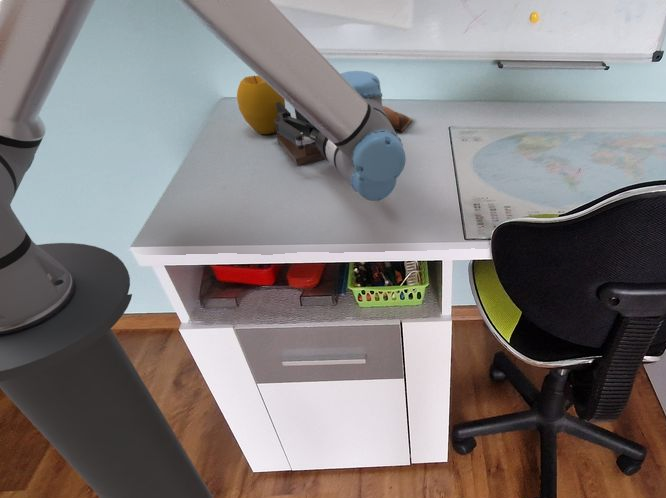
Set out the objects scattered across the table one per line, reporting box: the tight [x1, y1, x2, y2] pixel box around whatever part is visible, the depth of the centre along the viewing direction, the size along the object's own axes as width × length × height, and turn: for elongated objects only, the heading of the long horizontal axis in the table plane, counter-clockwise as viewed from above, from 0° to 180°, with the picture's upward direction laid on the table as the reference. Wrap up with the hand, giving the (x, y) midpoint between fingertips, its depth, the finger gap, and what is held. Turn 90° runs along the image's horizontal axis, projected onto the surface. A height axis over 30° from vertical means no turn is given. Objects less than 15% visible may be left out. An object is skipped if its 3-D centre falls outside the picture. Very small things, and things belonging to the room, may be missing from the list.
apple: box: [236, 75, 286, 135], centre depth 117 cm, size 10×10×12 cm
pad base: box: [276, 134, 327, 166], centre depth 115 cm, size 12×12×4 cm
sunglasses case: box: [382, 105, 412, 132], centre depth 125 cm, size 18×7×7 cm
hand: (300, 105), depth 113 cm, fingers open, 8 cm apart
